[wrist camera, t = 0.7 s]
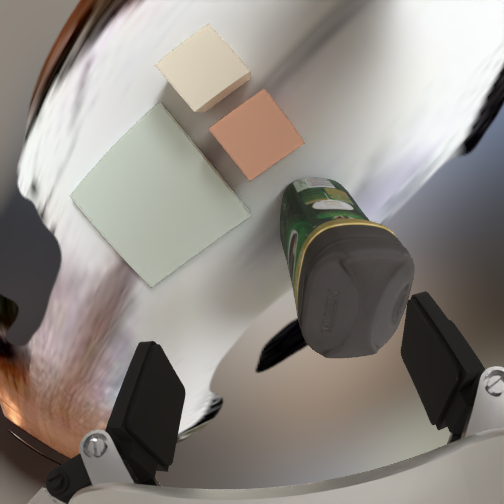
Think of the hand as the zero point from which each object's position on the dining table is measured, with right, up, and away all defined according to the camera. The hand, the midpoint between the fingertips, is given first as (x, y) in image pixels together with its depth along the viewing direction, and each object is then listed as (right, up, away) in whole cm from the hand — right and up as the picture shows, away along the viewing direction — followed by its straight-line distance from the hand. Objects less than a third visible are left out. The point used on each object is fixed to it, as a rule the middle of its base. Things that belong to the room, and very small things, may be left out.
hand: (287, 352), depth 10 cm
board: (-13, +10, +23) cm, 28 cm away
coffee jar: (+6, +8, +24) cm, 25 cm away
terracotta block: (-1, +16, +19) cm, 25 cm away
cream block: (-6, +22, +16) cm, 28 cm away
